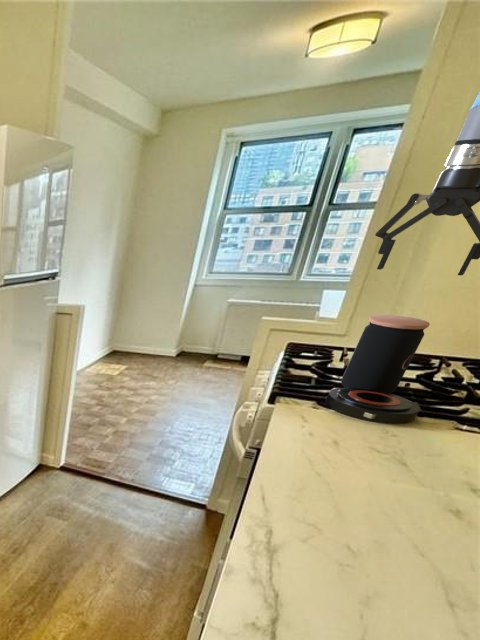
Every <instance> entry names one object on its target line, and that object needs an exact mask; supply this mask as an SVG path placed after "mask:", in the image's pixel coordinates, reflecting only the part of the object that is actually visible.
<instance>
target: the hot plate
mask: <svg viewBox="0 0 480 640" xmlns="http://www.w3.org/2000/svg"><path fill="white" fill-rule="evenodd" d="M324 404H325V405H326V407H327V408H329V409H330V410H331V411H332V410H333V412H334V411H335V412H336V413H339V414H342V415H344V416H347V417H349V418H354V419H357V420H362V421H366V422H371V423H378V424H386V425H404V424H405V425H406V424H411V423H413V422H414V421H415V420H416V418H417V416H418V414H419V413H420V411H421V407H420V405H418V404H417V403H416V402H414V401H412V400H410V399H408V398H405V397H402V396H399V395H397V394H393V393H386V392H382V391H377V390H370V389H362V388H344V387H337V388H333V389H331V390H329V391H328V393H327V396H326V398H325V401H324Z"/></svg>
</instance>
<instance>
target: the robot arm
mask: <svg viewBox="0 0 480 640" xmlns="http://www.w3.org/2000/svg"><path fill="white" fill-rule="evenodd" d="M444 166H445V167H447V168H446V169H443V171H441V172H440V174H439V177H438V179H437V181H436V183H435V186H434V188H433V190H432V192H430V194H422V193H420V192H417V193H413V194H411V195H410V197H409V199H408V200H407V203H406V204H405V205H404V206H403V207H402V208H401V209H399V211H397V212H396V213H395V214H394V215H393V216H392V217H391V218H390V219H389V220H388V221H387V222H386V223H385V224H384V225H383V226H382V227H381V228H380V229H378V231H376V232H375V237H377V238H380V239H382V242H381V245H380V246H379V249H378V252H377V253H378V255H382V256H381V258H380V260H379V263H378V264H377V265H378V266H377V267H376V270H379V271H380V270H383V269H384V268H385V265H386V263H387V261H388V258H389V256H390V254H391V252H392V250H393V248H394V246H395V243H396V239H393V238H395V237H396V236H398V235H399V234H401V233H403V232H404V231H406V230H407V229H409V228H411V227H412V226H413V225H415V224H417V223H418V222H420V221H421V220H423V219H424V218H426V217H428V216H430V215H431V214H432V215H434V217H435V216H438V217H440V216H449V217H456V216H460V215H462V216H463V218H464V219H465V220H466V222H467V224H468V226H469V227H470V229H471V230H472V232H473V234H474V235H475V237H476V238H477V240H478V242H474V243H473V244H472V246H471V248H470V249H469V252H468V254H467V256H466V258H465V260H464V261H463V264H462V266H461V267H460V269H459V271H458V273H457V276H463V275H465V273H466V271H467V269H468V267H469V265H470V264H471V261H472V260H479V259H480V220H479V218H478V216H477V215H476V213H475V211H474V209H473V208H472V207H473V206H476V204H478V203H480V91H479V92H478V94H477V96H476V98H475V100H474V102H473V104H472V105H471V107H469V109H468V114H467V116H466V118H465V120H464V123H463V126H462V128H461V129H460V132H459V134H458V136H457V139H456V141H455V143H454V145H453V147H452V149H451V151H450V153H449V156H448V157H447V159H446V162H445V164H444ZM423 201H425V202H426V204H427V208H426V209H424V210H422V211H421V212H419V213H418V214H417V215H415V216H413V217H412V218H410V219H409V220H407V221H406V222H404V223H403V224H401V225H400V226H398V227H397V228H395V229H393V230H392V231H390V232H388V231H389V230H390V229H391V228H393V226H395V224H397V223H398V222H399V221H400V220H401V219H402V218H403V217H404V216H405V215H407V213H409V211H410V210H412V209H413V208H414V207H415V205H416V206H417V205H419V204H421V203H422V202H423Z"/></svg>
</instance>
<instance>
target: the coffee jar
mask: <svg viewBox="0 0 480 640" xmlns="http://www.w3.org/2000/svg"><path fill="white" fill-rule="evenodd" d="M368 322H369V324H367V325H365V326H364V329H363V331H362V333H361V335H360V337H359V340H358V342H357V344H356V346H355V349H354V351H353V353H352V355H351V358H350V360H349V362H348V364H347V366H346V369H345V370H344V373H343V375H342V376H341V381H340V383H341V385H342V386H341V387H342V388H362V389H370V390H377V391H382V392H386V393H390V394H393V392H395V391H396V390H397V389H398V387H399V385H400V383H401V381H402V379H403V377H404V375H405V373H406V371H407V369H408V368H409V365H410V363H411V362H412V359H413V357H414V356H415V354H416V352H417V350H418V348H419V346H420V344H421V343H422V340H423V339H424V337H425V332H424V330H425V329H428V328H429V327H430V324H431V323H430V322H429V321H427V320H424V319H421V318H416V317H410V316H405V315H394V314H393V315H392V314H377V315H370V316H369V319H368Z"/></svg>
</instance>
